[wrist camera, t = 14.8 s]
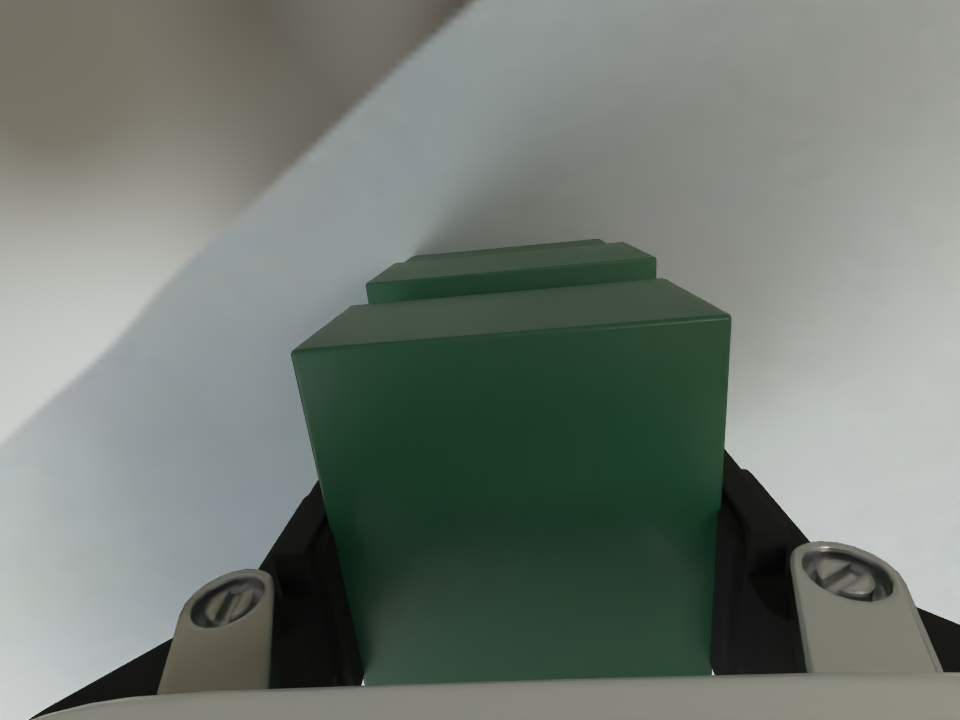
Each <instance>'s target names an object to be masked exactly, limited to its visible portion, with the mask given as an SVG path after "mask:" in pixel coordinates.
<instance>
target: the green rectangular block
mask: <svg viewBox="0 0 960 720" xmlns="http://www.w3.org/2000/svg"><path fill="white" fill-rule="evenodd" d="M730 335H731V316H730V314H728V313H726V312H724V311H722V310H721V309H719V308H717V307H715V306H713V305H711V304H710V303H708V302H706V301H704V300H702V299H701V298H699V297H697V296H695V295H693V294H691V293H690V292H688V291H686V290H684V289H682V288H681V287H679V286H677V285H675V284H673V283H671V282H670V281H668V280H666V279H663V278H658V279H647V280H636V281H624V282H613V283H602V284H591V285H579V286H568V287H557V288H546V289H534V290H523V291H512V292H501V293H489V294H478V295H467V296H456V297H445V298H433V299H422V300H411V301H400V302H388V303H377V304H366V305H355V306H351V307H349V308H348V309H347V310H345V311H344V312H343V313H341V314H340V315H339V316H337V317H336V318H335V319H334V320H332V321H331V322H330V323H328V324H327V325H326V326H324V327H323V328H322V329H320V330H319V331H318V332H316V333H315V334H314V335H312V336H311V337H310V338H308V339H307V340H306V341H305V342H303V343H302V344H301V345H299V346H298V347H297V348H295V349H294V350H293V351H292V353H291V357H292V361H293V366H294V370H295V375H296V379H297V384H298V388H299V393H300V397H301V402H302V406H303V411H304V415H305V420H306V424H307V428H308V433H309V437H310V442H311V446H312V451H313V455H314V460H315V464H316V469H317V473H318V478H319V482H320V487H321V491H322V496H323V500H324V505H325V509H326V514H327V518H328V522H329V527H330V531H331V532H333V535H334V540H335V544H336V549H337V553H338V558H339V562H340V567H341V571H342V576H343V580H344V585H345V589H346V594H347V598H348V603H349V607H350V612H351V616H352V621H353V625H354V630H355V635H356V639H357V644H358V648H359V653H360V657H361V662H362V666H363V671H364V677H363V679H364V684H365V686H368V685H396V684H423V683H454V682H486V681H518V680H552V679H587V678H622V677H663V676H705V675H712V667H711V665H710V645H711V626H712V608H713V589H714V571H715V552H716V534H717V515H718V510H721V497H722V479H723V461H724V443H725V425H726V407H727V389H728V371H729V353H730Z"/></svg>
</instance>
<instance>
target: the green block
mask: <svg viewBox="0 0 960 720" xmlns="http://www.w3.org/2000/svg"><path fill="white" fill-rule="evenodd" d="M647 279H656V257H654V256H651V255H649V254H647V253H645V252H643V251H641V250H639V249H637V248H635V247H632V246H630V245H628V244H626V243H624V242H618V243H605V242H604V241H602V240H600V239H593V240H582V241H572V242H561V243H551V244H540V245H530V246H519V247H508V248H498V249H487V250H477V251H466V252H455V253H445V254H434V255H424V256H413V257H411V258H410V259H408V260H407V261H406V262H404V263H395V264H394V265H392V266H391V267H389V268H388V269H387V270H385V271H384V272H382V273H381V274H379V275H378V276H377V277H375V278H374V279H372V280H371V281H369V282H368V283H367V284H366V290H367V296H368V302H369V304H377V303H388V302H400V301H411V300H422V299H433V298H445V297H456V296H467V295H478V294H489V293H501V292H512V291H523V290H534V289H546V288H557V287H568V286H579V285H591V284H602V283H613V282H624V281H636V280H647Z"/></svg>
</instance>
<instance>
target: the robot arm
mask: <svg viewBox="0 0 960 720" xmlns="http://www.w3.org/2000/svg"><path fill="white" fill-rule="evenodd" d="M710 665H711V667H712V669H713V672H714V674H715V675H705V676H663V677H622V678H587V679H552V680H518V681H486V682H454V683H423V684H396V685H368V686H361V684H362V681H363V677H364V671H363V666H362V662H361V657H360V653H359V648H358V644H357V639H356V635H355V630H354V625H353V621H352V616H351V612H350V607H349V603H348V598H347V594H346V589H345V585H344V580H343V576H342V571H341V567H340V562H339V558H338V553H337V549H336V544H335V540H334V535H333V532H331V531H330V527H329V522H328V518H327V514H326V509H325V505H324V500H323V496H322V491H321V487H320V482H319V480H318V481H317V483H316V484H315V486H314V487H313V489H312V491H311V492H310V494H309V495H308V496H306V497H305V498H304V499H303V501H302V502H301V504H300V505H299V507H298V508H297V510H296V511H295V513H294V515H293V516H292V518H291V519H290V521H289V522H288V524H287V525H286V527H285V529H284V530H283V532H282V533H281V535H280V536H279V538H278V539H277V541H276V543H275V544H274V546H273V547H272V549H271V550H270V552H269V553H268V555H267V557H266V558H265V560H264V561H263V563H262V564H261V566H260V567H259V569H245V570H240V571H234V572H231V573H229V574H226V575H223V576H220V577H218V578H217V579H215V580H213V581H211V582H209V583H208V584H206V585H205V586H203V587H202V588H201V589H200V590H198V591H197V592H196V593H194V594H193V596H192V597H191V598H190V599H189V600H188V601H187V602H186V604H185V605H184V607H183V609H182V611H181V613H180V616H179V620H178V623H177V626H176V630H175V633H174V637H173V638H172V639H170V640H168V641H166V642H165V643H163V644H161V645H159V646H157V647H156V648H154V649H152V650H150V651H148V652H147V653H145V654H143V655H141V656H139V657H138V658H136V659H134V660H132V661H130V662H129V663H127V664H125V665H123V666H121V667H120V668H118V669H116V670H114V671H113V672H111V673H109V674H107V675H105V676H104V677H102V678H100V679H98V680H96V681H95V682H93V683H91V684H89V685H87V686H86V687H84V688H82V689H80V690H78V691H77V692H75V693H73V694H71V695H70V696H68V697H66V698H64V699H62V700H61V701H59V702H57V703H55V704H53V705H52V706H50V707H48V708H46V709H45V710H43V711H41V712H40V713H38V714H37V715H35V716H34V717H32V718H31V719H29V720H960V625H959V624H956V623H954V622H952V621H949V620H947V619H944V618H942V617H939V616H937V615H934V614H932V613H929V612H927V611H924V610H922V609H920V608H917V607H916V606H915V604H914V601H913V599H912V597H911V594H910V592H909V590H908V587H907V585H906V583H905V582H904V580H903V579H902V577H901V576H900V574H899V573H898V572H897V571H896V570H895V569H894V568H892V567H891V566H890V565H889V564H888V563H887V562H885V561H883V560H882V559H880V558H878V557H876V556H875V555H873V554H871V553H869V552H866V551H864V550H861V549H859V548H856V547H854V546H849V545H845V544H841V543H837V542H825V541H818V542H810V541H809V540H808V539H807V538H806V537H805V535H804V534H803V533H802V532H801V531H800V530H799V528H798V527H797V526H796V525H795V524H794V523H793V521H792V520H791V519H790V518H789V517H788V516H787V514H786V513H785V512H784V511H783V510H782V509H781V507H780V506H779V505H778V504H777V503H776V502H775V500H774V499H773V498H772V497H771V496H770V495H769V493H768V492H767V491H766V490H765V489H764V487H763V486H762V485H761V484H760V483H759V482H758V480H757V479H756V478H755V477H754V476H753V475H752V473H750V472H749V471H748V470H745V469H741V468H740V467H739V466H738V465H737V463H736V462H735V461H734V460H733V459H732V457H731V456H730V455H729V454H728V453H727V451H726V450H725V449H724V461H723V479H722V497H721V510H718V515H717V534H716V552H715V571H714V589H713V608H712V626H711V645H710Z"/></svg>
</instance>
